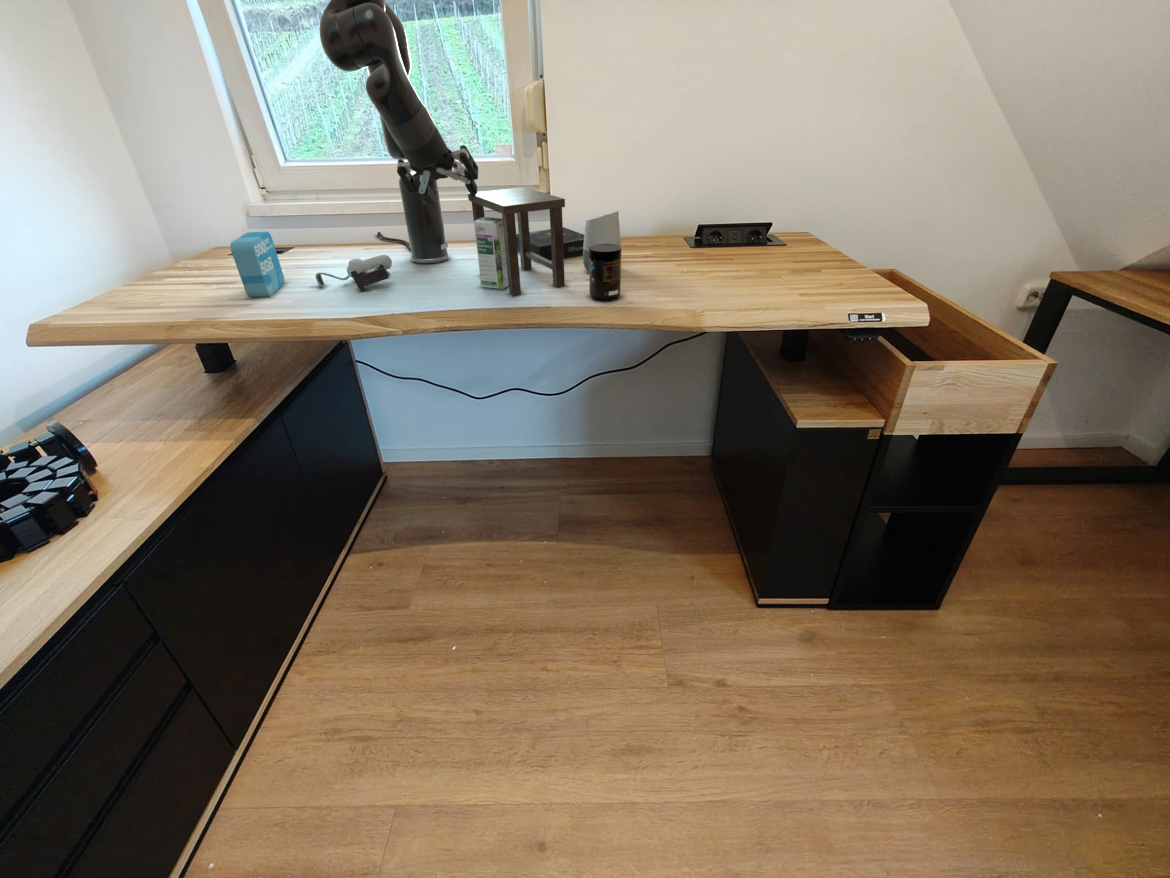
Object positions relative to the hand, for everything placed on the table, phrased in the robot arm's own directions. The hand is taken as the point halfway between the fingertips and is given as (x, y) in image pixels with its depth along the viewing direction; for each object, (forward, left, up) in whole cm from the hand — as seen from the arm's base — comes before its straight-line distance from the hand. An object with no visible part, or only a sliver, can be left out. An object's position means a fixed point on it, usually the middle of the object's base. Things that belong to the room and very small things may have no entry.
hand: (454, 198), depth 111 cm
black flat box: (-23, +34, -20) cm, 46 cm away
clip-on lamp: (-22, -19, -20) cm, 36 cm away
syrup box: (-3, +9, -20) cm, 22 cm away
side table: (-3, +15, -20) cm, 25 cm away
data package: (-29, -37, -20) cm, 51 cm away
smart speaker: (+1, +35, -20) cm, 40 cm away
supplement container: (+18, +25, -20) cm, 36 cm away
